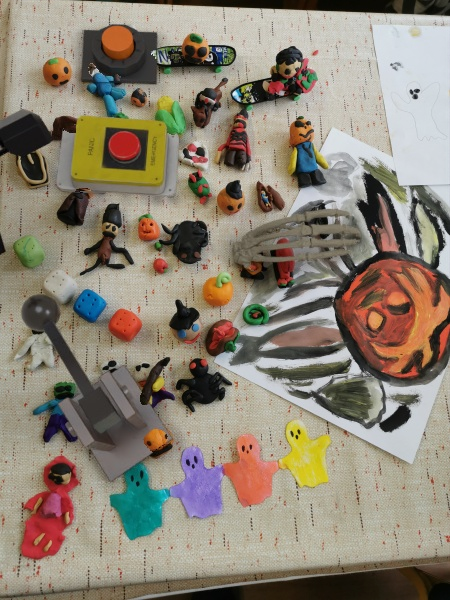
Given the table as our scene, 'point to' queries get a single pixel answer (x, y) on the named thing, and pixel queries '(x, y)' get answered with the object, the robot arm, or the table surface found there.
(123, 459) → the switch bracket
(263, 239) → the skeletal hand
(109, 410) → the switch lever
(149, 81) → the button box
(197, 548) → the table surface
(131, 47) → the orange button
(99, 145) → the emergency button
